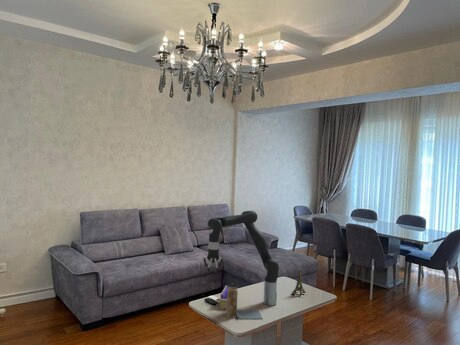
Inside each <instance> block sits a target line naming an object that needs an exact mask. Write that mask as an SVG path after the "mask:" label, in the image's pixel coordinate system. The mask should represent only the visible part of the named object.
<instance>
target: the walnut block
mask: <svg viewBox="0 0 460 345" xmlns="http://www.w3.org/2000/svg"><path fill="white" fill-rule="evenodd" d="M237 288H238V287H236V286H228V292H227V308H226V316H227V318H237V316H236V315H237V310H238V289H237Z"/></svg>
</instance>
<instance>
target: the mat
mask: <svg viewBox="0 0 460 345" xmlns="http://www.w3.org/2000/svg"><path fill="white" fill-rule="evenodd" d="M236 319H237V320H263V317H262V314H261V312H260V310H259V309H237V315H236Z"/></svg>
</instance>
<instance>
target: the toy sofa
mask: <svg viewBox="0 0 460 345" xmlns="http://www.w3.org/2000/svg"><path fill="white" fill-rule="evenodd" d="M228 287H229V286H228V285H225V286H224V288H223V290H222V292H221V293H220V296H219V298H220V299H219V308H221V309H227V292H228Z"/></svg>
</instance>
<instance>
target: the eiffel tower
mask: <svg viewBox="0 0 460 345" xmlns="http://www.w3.org/2000/svg"><path fill="white" fill-rule="evenodd" d="M302 271H303V269H302V268H299V269H298V276H297V280H296V285H295V287H294V289H293V290H292V293H291V294H295V293H296V291H298V292H299V296H300V295H303V296H304V294H303V293H307V292H306V291H305V289H304V287H303V281H302Z"/></svg>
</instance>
